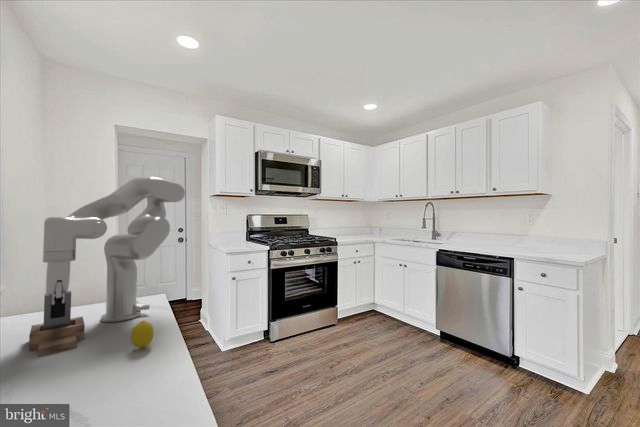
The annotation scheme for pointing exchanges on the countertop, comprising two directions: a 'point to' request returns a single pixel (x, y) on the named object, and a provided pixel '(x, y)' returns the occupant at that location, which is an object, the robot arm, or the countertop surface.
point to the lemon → (142, 334)
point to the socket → (56, 337)
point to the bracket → (59, 321)
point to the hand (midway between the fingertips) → (57, 315)
